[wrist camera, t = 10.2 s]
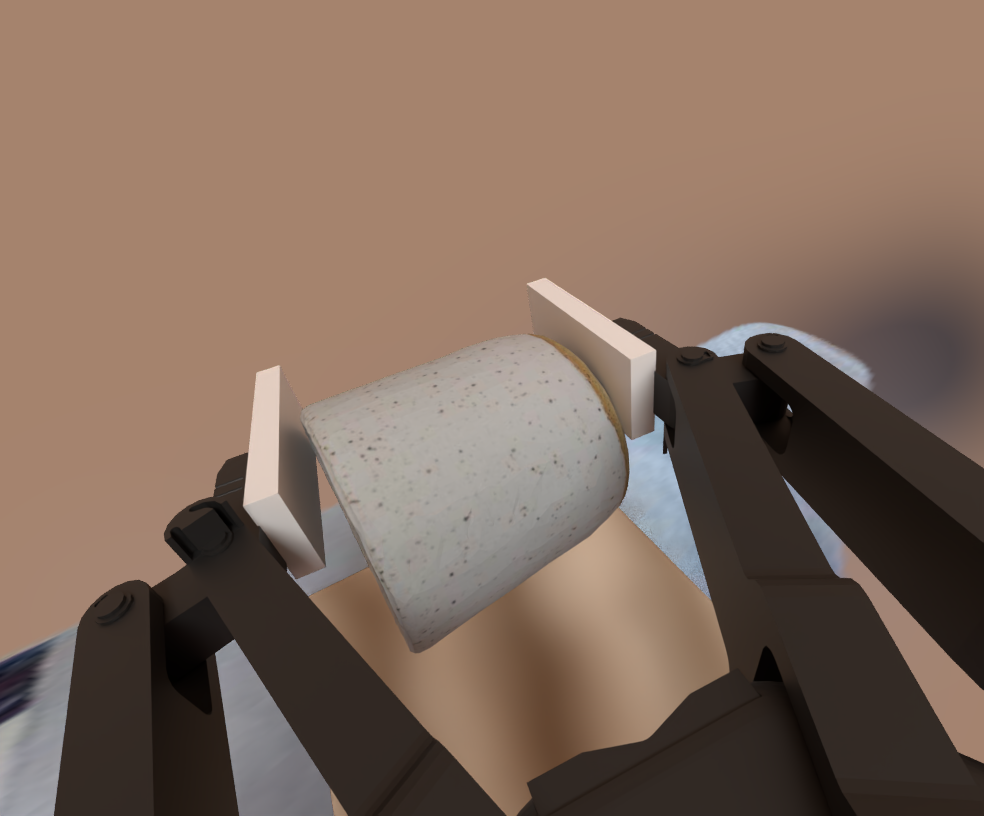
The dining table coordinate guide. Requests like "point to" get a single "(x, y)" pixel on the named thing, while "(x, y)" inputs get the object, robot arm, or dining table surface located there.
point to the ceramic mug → (470, 474)
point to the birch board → (547, 659)
